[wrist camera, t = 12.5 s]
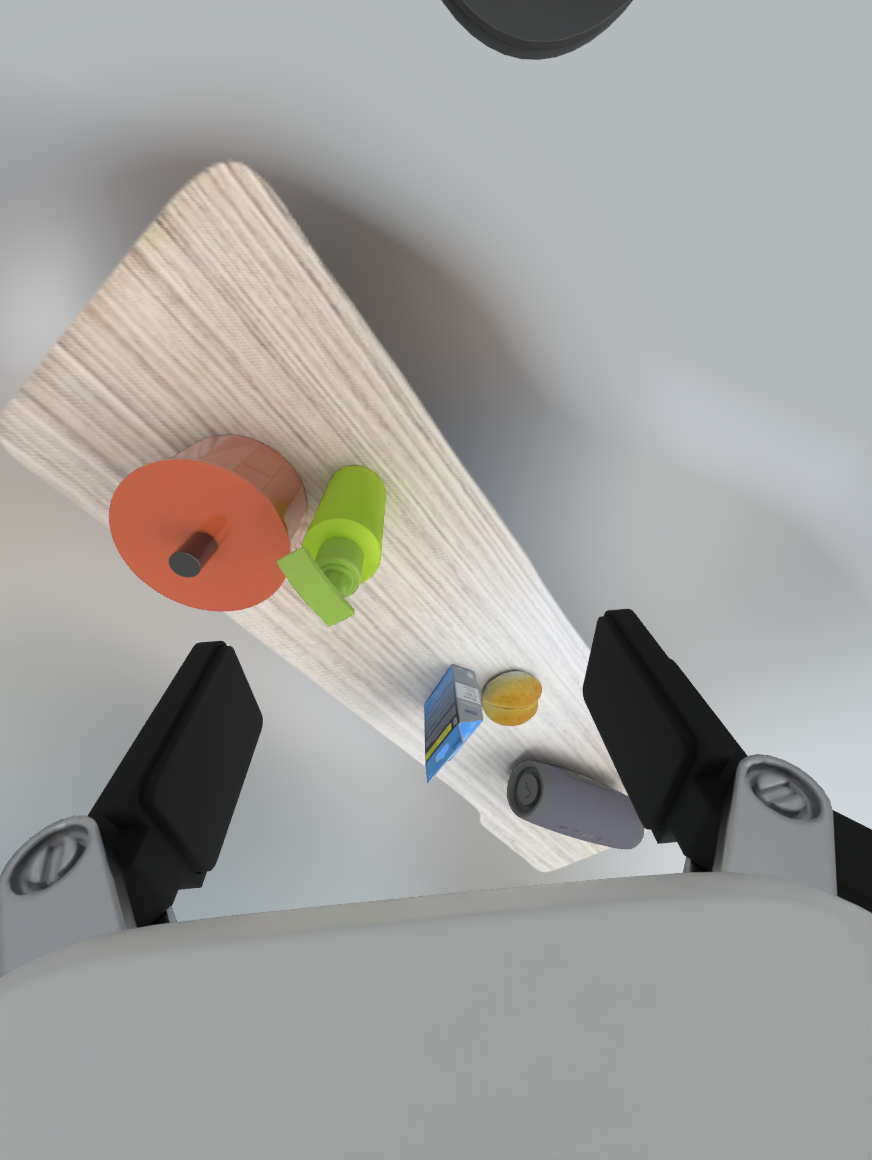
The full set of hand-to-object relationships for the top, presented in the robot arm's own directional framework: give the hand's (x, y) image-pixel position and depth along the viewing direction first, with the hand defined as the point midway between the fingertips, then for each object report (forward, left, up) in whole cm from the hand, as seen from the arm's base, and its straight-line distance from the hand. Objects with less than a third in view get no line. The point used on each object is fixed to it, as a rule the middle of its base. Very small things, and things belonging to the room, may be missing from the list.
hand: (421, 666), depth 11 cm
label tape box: (+36, +2, -33) cm, 49 cm away
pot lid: (+6, -17, -24) cm, 30 cm away
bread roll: (+38, +11, -33) cm, 52 cm away
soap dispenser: (+6, -6, -33) cm, 34 cm away
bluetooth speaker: (+61, +22, -33) cm, 73 cm away
